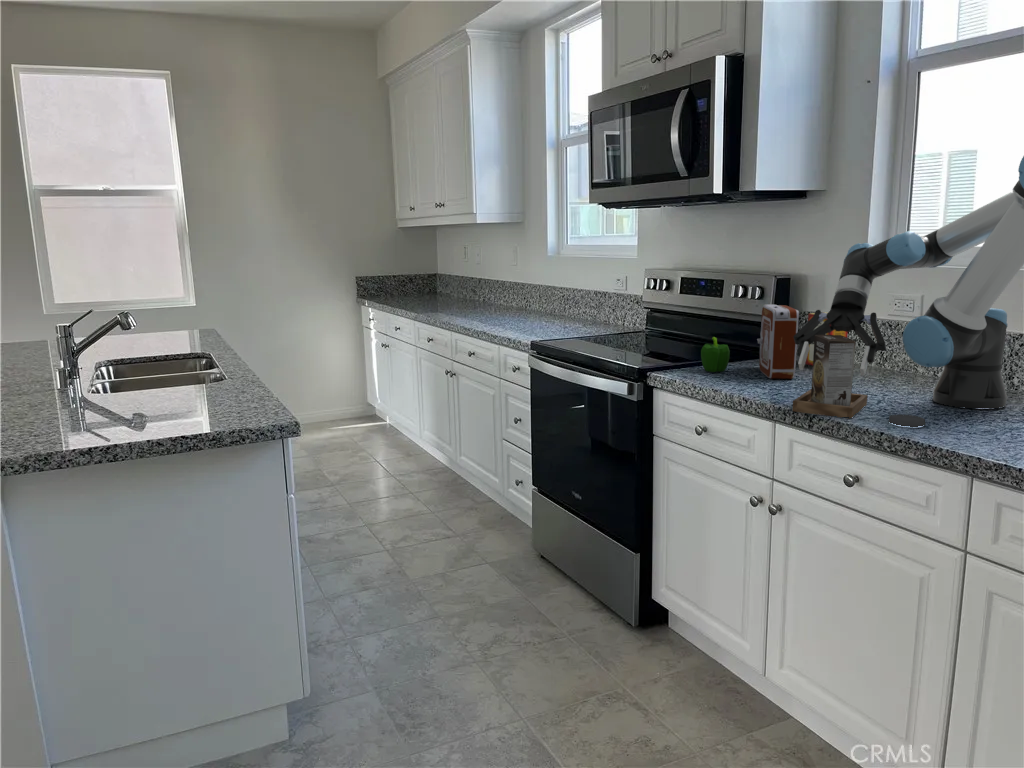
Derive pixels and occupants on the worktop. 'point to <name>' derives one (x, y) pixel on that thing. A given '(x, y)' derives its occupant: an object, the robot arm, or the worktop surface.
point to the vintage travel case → (778, 341)
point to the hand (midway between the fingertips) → (830, 369)
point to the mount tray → (829, 406)
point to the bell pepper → (715, 356)
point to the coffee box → (832, 369)
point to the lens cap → (907, 420)
